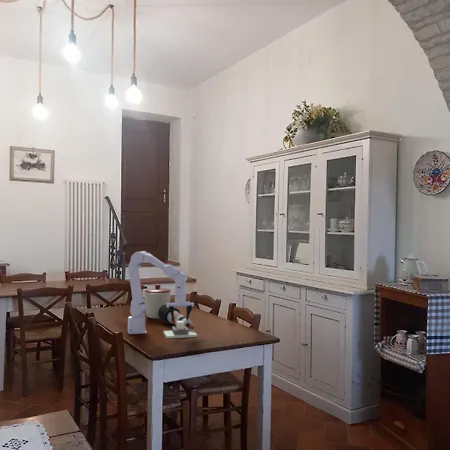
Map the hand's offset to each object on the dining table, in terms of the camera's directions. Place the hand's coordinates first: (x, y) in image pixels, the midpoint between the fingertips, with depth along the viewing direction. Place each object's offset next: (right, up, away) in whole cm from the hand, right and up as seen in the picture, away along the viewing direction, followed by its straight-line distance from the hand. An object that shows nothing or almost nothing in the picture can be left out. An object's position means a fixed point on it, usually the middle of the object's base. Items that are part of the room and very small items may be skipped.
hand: (180, 320), depth 253 cm
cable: (-3, -8, +18) cm, 20 cm away
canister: (-19, -8, +47) cm, 51 cm away
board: (0, -8, 0) cm, 8 cm away
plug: (0, -7, 0) cm, 7 cm away
